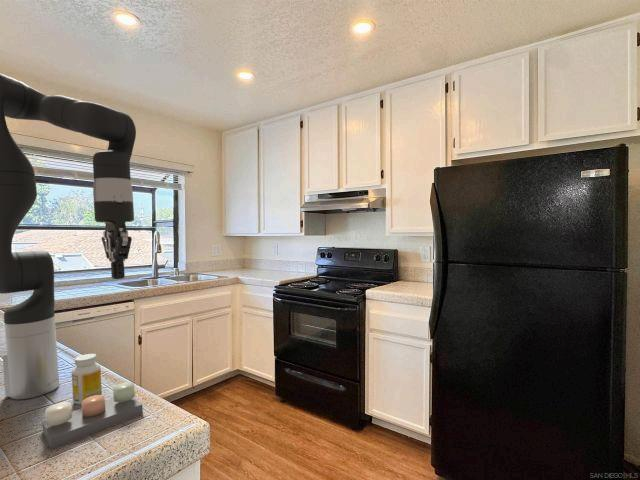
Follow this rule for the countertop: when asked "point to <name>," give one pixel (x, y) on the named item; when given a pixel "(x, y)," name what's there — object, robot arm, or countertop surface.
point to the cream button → (58, 413)
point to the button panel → (91, 422)
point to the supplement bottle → (86, 378)
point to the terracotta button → (93, 405)
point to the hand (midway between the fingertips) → (118, 278)
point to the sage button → (124, 392)
